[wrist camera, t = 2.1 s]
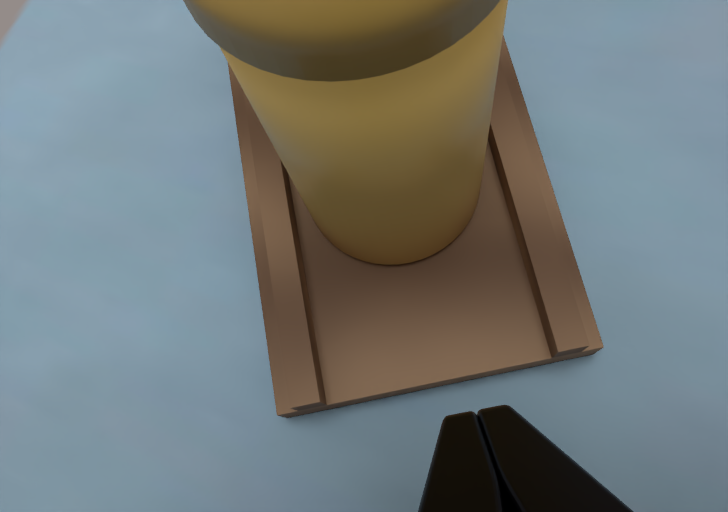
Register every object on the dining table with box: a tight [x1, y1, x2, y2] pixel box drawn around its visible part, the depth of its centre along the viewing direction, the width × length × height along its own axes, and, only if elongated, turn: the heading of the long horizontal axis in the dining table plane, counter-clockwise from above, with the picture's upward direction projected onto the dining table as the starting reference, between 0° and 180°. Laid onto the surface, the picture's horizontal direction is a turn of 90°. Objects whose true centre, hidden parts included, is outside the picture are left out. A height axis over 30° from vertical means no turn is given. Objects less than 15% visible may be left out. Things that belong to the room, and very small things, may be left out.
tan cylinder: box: [183, 0, 508, 265], centre depth 13 cm, size 6×6×12 cm
